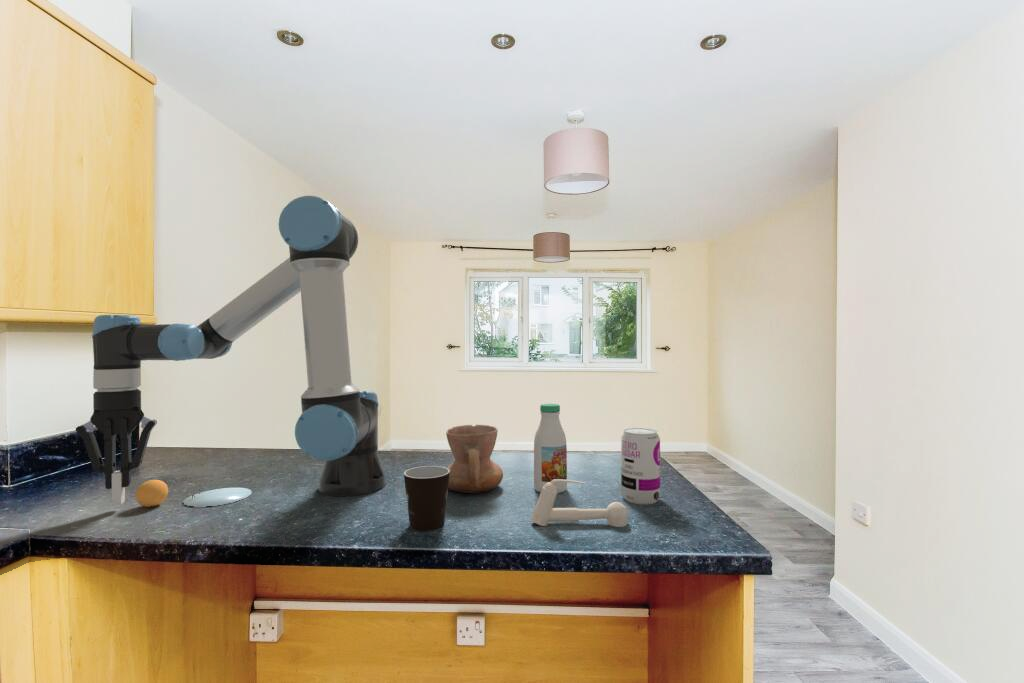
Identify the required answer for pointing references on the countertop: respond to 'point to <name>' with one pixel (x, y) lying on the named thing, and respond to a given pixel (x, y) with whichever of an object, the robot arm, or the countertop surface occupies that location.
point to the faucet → (574, 509)
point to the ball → (151, 493)
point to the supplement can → (640, 466)
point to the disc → (217, 497)
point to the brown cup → (426, 496)
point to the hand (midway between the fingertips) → (118, 503)
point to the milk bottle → (550, 449)
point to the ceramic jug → (473, 459)
